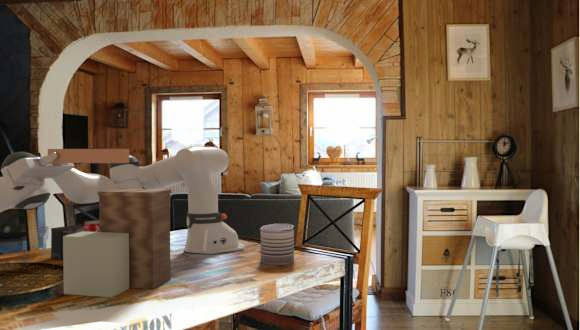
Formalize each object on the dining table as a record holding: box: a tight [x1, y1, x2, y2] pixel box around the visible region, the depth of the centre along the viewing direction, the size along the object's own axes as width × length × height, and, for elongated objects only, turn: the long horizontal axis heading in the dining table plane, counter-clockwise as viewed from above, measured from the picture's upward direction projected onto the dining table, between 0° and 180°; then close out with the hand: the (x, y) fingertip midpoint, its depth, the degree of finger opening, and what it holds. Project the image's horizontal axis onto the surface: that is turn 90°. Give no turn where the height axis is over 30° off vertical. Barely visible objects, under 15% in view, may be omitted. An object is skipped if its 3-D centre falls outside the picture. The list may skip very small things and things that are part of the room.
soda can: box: [83, 220, 100, 232], centre depth 165 cm, size 7×7×13 cm
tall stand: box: [97, 188, 172, 290], centre depth 135 cm, size 17×11×26 cm, turn 78°
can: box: [259, 223, 295, 266], centre depth 162 cm, size 11×11×12 cm
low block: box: [62, 231, 130, 298], centre depth 126 cm, size 14×8×15 cm, turn 78°
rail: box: [47, 148, 130, 164], centre depth 137 cm, size 24×4×4 cm, turn 77°
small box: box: [50, 224, 84, 261], centre depth 170 cm, size 11×6×10 cm, turn 148°
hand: (63, 154), depth 139 cm, fingers closed on rail, 3 cm apart
